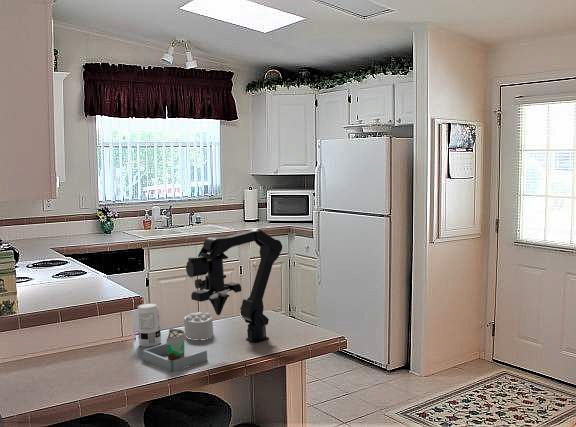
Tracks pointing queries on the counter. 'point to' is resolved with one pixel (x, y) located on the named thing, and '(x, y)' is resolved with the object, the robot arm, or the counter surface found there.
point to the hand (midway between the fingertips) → (218, 314)
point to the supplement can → (148, 325)
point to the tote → (154, 358)
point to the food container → (175, 344)
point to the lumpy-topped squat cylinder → (198, 325)
